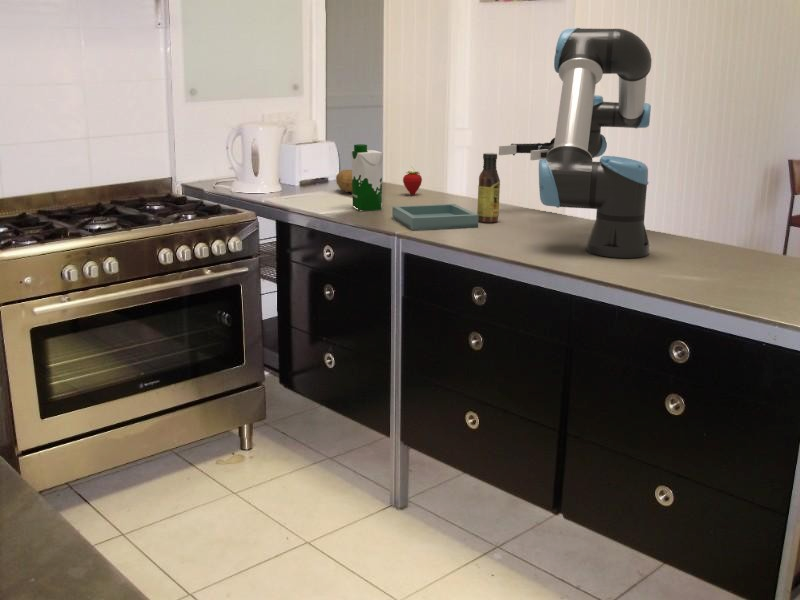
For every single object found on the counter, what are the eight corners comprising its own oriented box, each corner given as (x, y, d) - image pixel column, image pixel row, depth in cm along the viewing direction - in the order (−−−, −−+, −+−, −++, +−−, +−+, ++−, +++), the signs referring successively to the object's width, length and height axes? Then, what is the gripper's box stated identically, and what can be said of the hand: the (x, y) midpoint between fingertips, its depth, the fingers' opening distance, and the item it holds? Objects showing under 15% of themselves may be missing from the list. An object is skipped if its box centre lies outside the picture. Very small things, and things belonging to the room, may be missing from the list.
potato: (353, 188, 313) (353, 166, 311) (373, 194, 302) (373, 171, 300) (329, 191, 308) (329, 168, 306) (349, 196, 297) (349, 173, 295)
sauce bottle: (497, 224, 252) (500, 155, 246) (475, 223, 253) (478, 154, 248) (499, 219, 258) (502, 152, 253) (478, 218, 259) (480, 151, 254)
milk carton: (349, 207, 276) (348, 143, 271) (375, 205, 280) (376, 142, 274) (358, 211, 268) (357, 146, 263) (385, 210, 272) (385, 145, 266)
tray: (478, 227, 247) (478, 215, 246) (412, 230, 241) (412, 218, 240) (453, 215, 265) (454, 203, 264) (392, 218, 259) (392, 206, 258)
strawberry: (398, 195, 299) (399, 166, 297) (412, 193, 305) (412, 164, 302) (412, 197, 296) (412, 168, 293) (425, 195, 302) (426, 166, 299)
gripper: (595, 165, 260) (544, 170, 248) (536, 156, 279) (486, 161, 267) (597, 139, 258) (546, 144, 246) (537, 132, 277) (487, 136, 265)
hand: (515, 153), depth 256 cm, fingers open, 13 cm apart
